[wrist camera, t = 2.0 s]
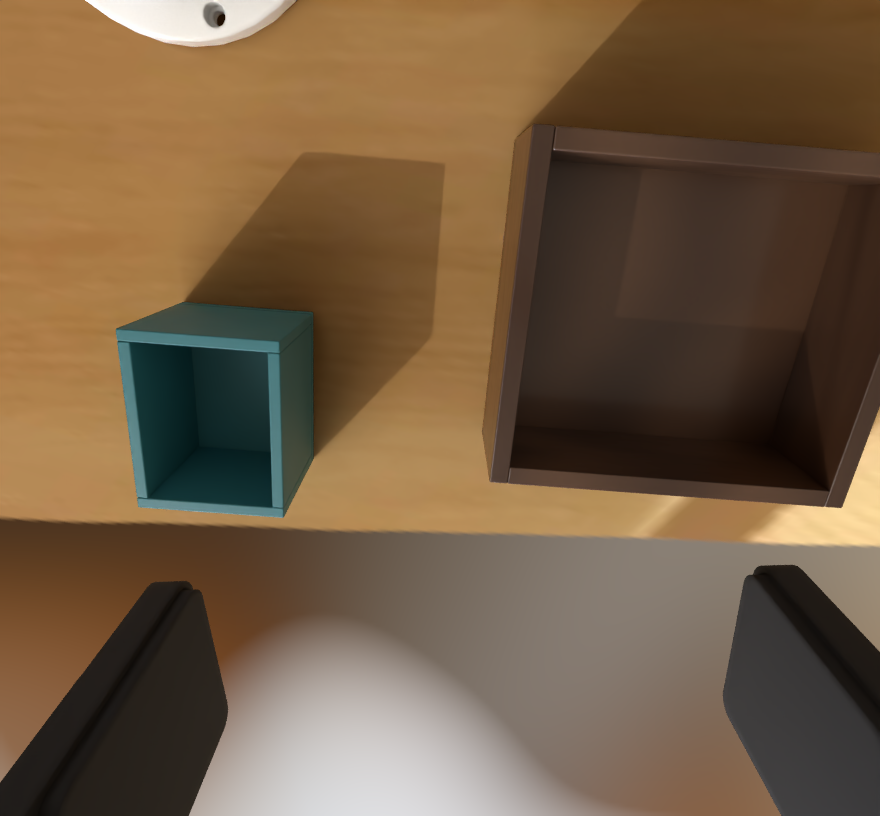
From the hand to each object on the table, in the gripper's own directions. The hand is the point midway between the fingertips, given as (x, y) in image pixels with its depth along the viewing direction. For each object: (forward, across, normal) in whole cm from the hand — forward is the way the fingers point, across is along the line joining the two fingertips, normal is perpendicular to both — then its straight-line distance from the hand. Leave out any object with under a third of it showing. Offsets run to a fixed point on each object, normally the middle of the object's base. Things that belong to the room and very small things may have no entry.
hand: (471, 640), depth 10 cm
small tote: (+20, +10, +2) cm, 22 cm away
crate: (+20, -10, -2) cm, 22 cm away
